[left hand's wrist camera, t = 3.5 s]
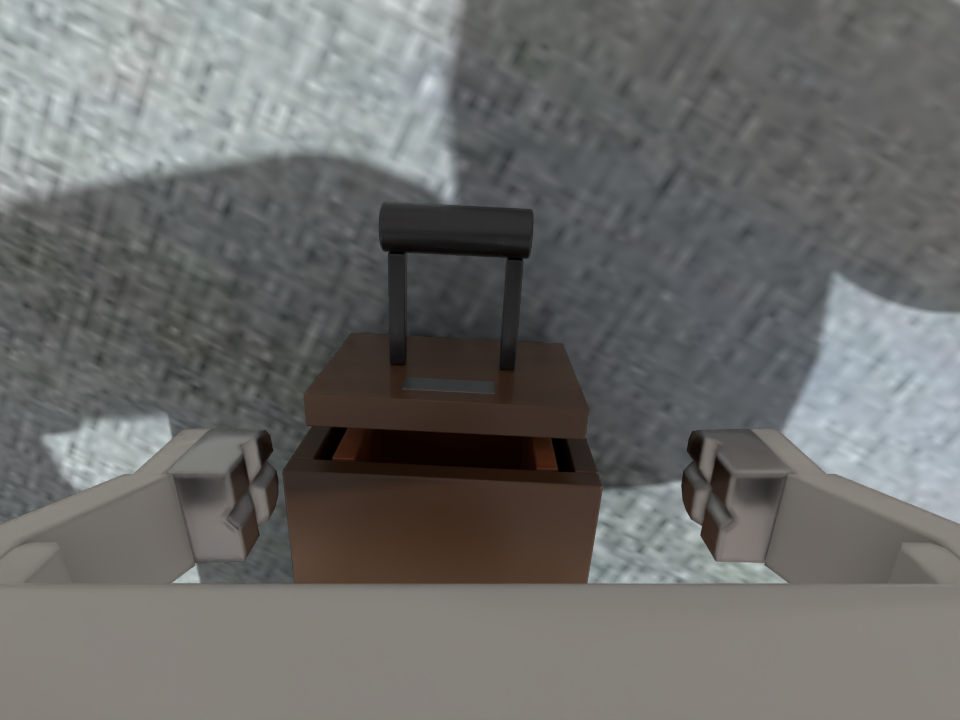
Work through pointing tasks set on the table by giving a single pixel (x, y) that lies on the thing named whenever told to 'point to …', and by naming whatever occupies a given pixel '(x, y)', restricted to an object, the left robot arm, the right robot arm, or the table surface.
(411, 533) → the cabinet
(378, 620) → the left robot arm
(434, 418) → the drawer
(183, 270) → the table surface
